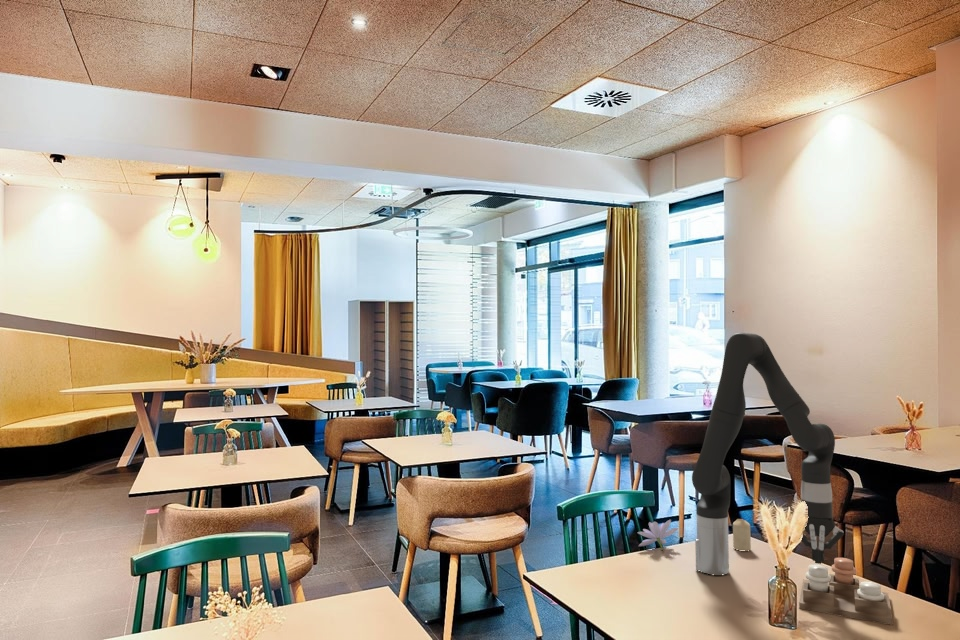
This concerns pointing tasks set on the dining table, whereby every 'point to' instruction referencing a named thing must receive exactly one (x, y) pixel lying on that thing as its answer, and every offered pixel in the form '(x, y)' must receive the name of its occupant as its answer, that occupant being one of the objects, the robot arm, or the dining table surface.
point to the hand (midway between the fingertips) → (818, 562)
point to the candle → (741, 535)
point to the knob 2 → (870, 591)
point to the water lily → (657, 533)
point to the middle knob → (843, 570)
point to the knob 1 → (818, 578)
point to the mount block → (845, 602)
